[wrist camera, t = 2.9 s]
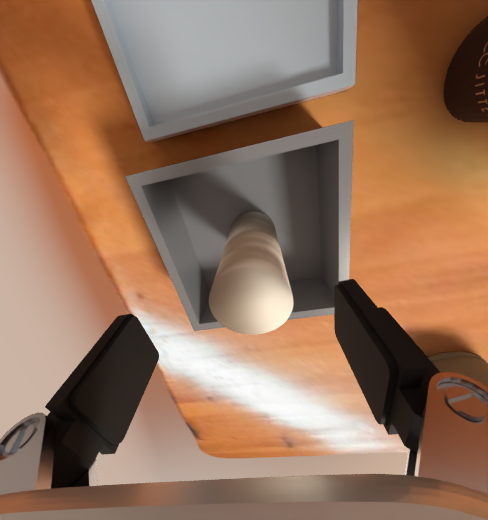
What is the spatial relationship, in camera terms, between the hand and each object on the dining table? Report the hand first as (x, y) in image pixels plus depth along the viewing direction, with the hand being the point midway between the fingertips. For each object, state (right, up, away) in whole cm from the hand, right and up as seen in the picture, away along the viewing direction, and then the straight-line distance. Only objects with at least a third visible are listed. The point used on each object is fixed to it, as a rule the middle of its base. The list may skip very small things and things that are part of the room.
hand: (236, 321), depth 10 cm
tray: (-1, +19, +4) cm, 20 cm away
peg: (+1, +6, +11) cm, 12 cm away
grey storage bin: (+1, +6, +11) cm, 13 cm away
